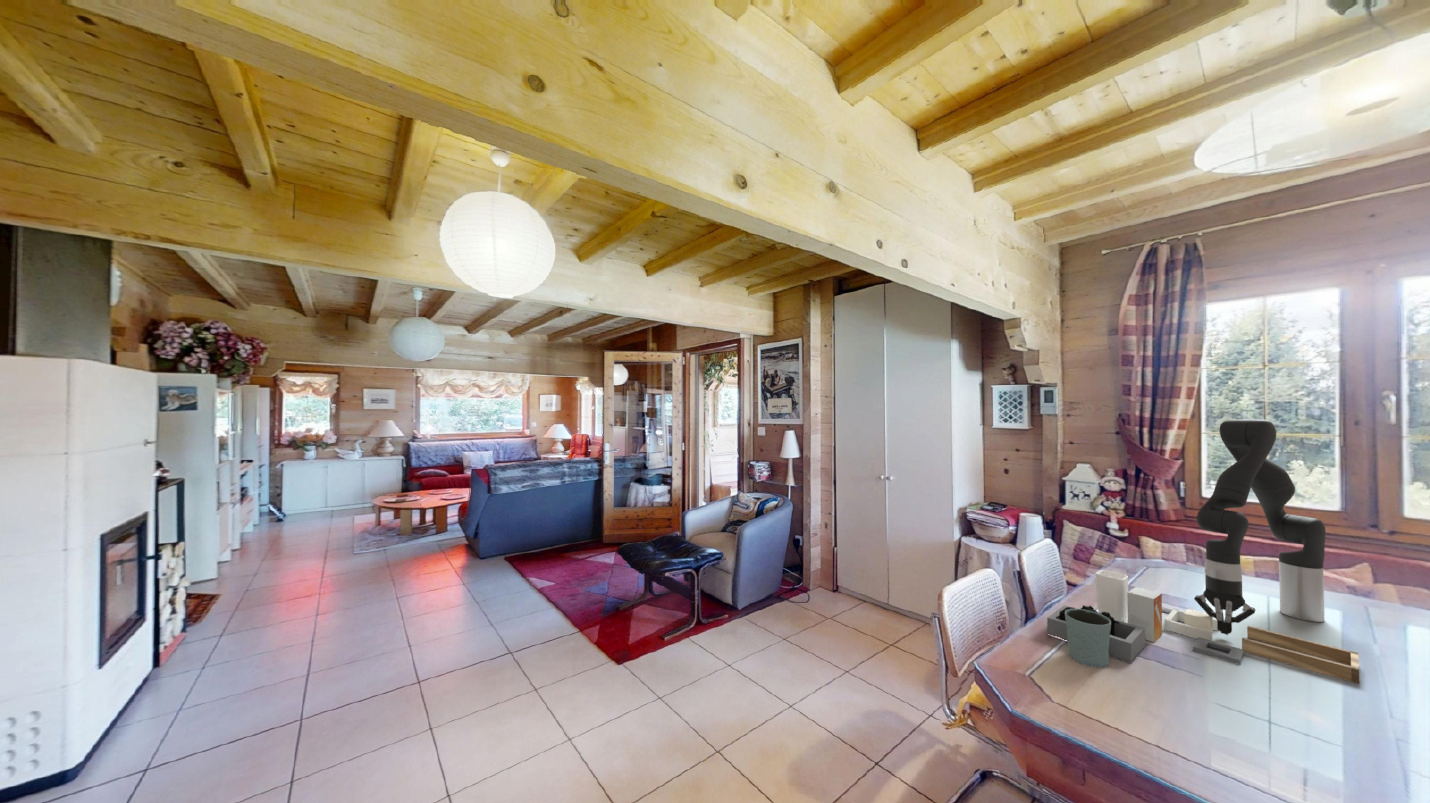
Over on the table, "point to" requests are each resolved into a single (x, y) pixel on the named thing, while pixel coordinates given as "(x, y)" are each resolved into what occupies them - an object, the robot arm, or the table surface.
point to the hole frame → (1218, 650)
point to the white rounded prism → (1112, 593)
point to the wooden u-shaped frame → (1299, 658)
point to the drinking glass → (1088, 637)
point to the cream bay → (1186, 626)
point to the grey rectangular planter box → (1120, 646)
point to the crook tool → (1166, 610)
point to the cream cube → (1198, 619)
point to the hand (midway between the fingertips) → (1224, 633)
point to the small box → (1145, 611)
